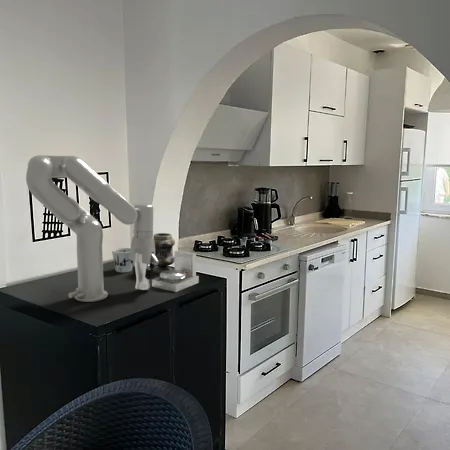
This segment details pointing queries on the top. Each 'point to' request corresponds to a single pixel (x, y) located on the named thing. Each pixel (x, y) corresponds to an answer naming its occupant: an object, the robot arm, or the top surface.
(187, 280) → the scale
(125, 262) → the mug
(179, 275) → the scale pan
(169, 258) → the apothecary jar
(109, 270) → the top surface
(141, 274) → the beer glass
